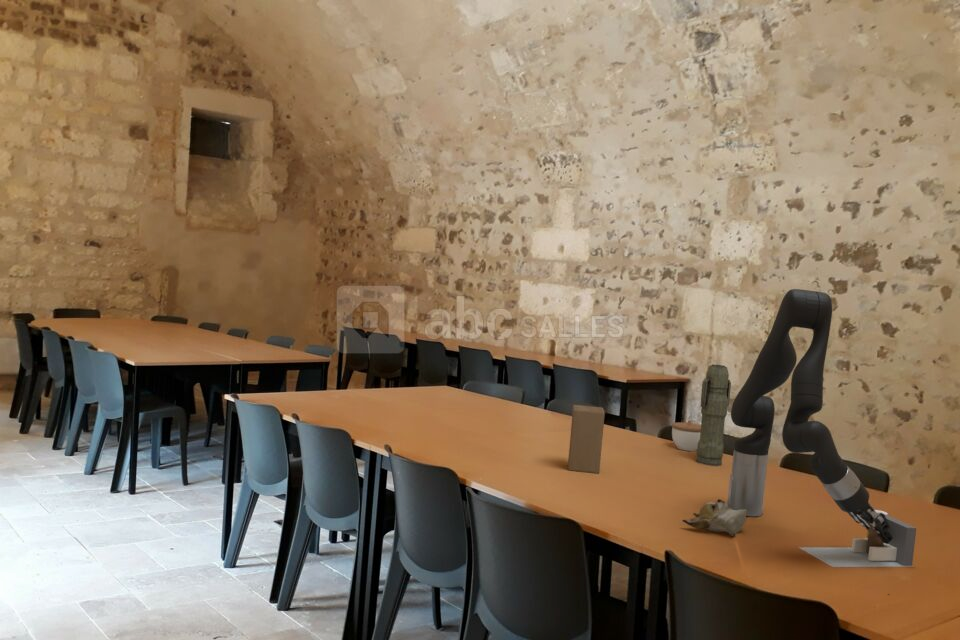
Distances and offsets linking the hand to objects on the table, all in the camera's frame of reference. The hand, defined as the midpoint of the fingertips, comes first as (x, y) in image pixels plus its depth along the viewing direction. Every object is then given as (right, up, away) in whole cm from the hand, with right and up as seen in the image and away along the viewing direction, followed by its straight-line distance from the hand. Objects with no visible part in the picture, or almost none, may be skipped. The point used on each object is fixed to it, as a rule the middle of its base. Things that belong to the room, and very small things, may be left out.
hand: (882, 538), depth 202 cm
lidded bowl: (-17, +3, +120) cm, 121 cm away
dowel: (-2, -4, 0) cm, 4 cm away
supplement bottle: (+5, -6, +15) cm, 16 cm away
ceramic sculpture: (-36, -2, +15) cm, 39 cm away
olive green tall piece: (-15, +1, +98) cm, 99 cm away
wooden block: (-63, +3, +74) cm, 97 cm away
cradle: (-2, -4, 0) cm, 5 cm away
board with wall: (-7, -5, -1) cm, 9 cm away
